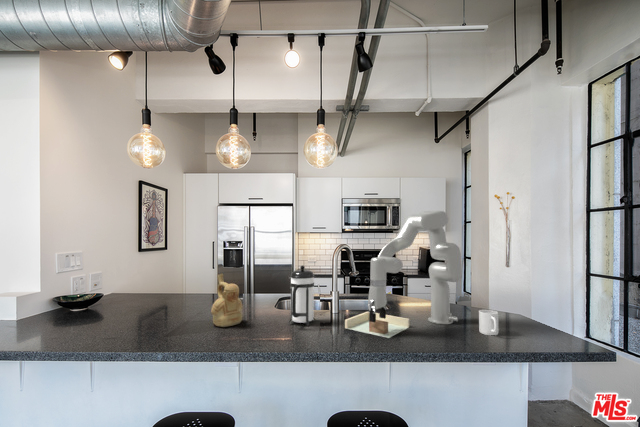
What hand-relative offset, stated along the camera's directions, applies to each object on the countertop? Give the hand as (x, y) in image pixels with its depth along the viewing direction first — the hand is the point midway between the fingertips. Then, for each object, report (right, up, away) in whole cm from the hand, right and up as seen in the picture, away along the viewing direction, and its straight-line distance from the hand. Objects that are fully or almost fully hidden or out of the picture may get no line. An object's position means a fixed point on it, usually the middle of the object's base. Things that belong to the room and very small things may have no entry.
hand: (377, 319), depth 162 cm
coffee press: (-37, -7, +16) cm, 41 cm away
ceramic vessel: (-76, -7, +15) cm, 78 cm away
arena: (+1, -7, +7) cm, 10 cm away
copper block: (+1, -6, 0) cm, 6 cm away
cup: (+53, -7, -1) cm, 54 cm away
